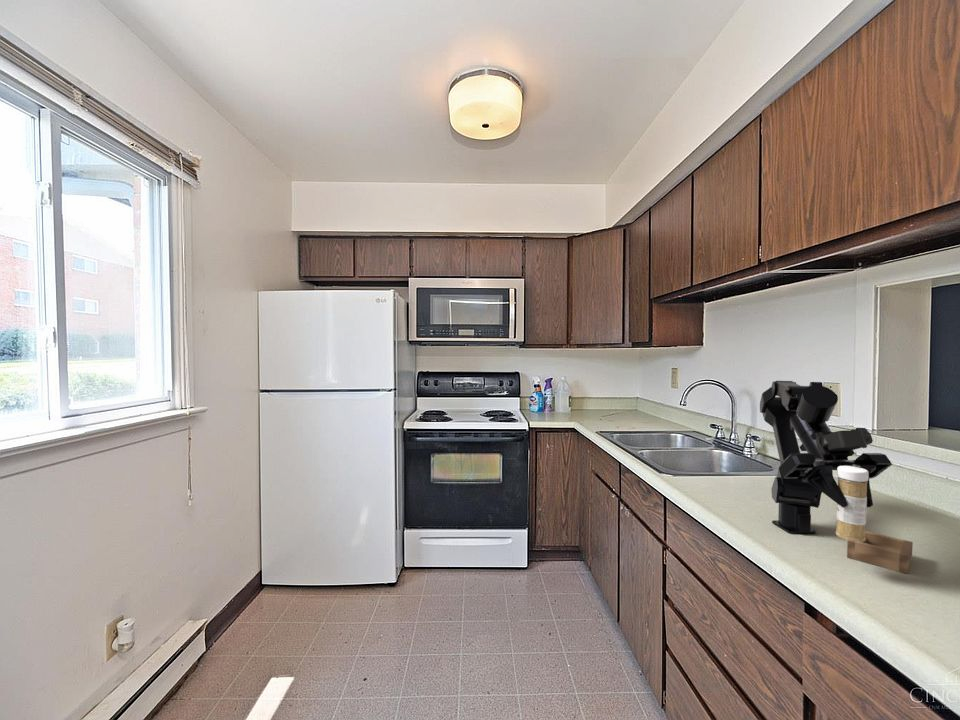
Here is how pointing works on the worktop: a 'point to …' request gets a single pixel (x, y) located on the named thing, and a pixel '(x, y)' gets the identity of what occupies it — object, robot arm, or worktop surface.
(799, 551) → the worktop surface
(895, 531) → the worktop surface
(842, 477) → the sprinkles bottle
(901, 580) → the worktop surface
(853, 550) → the walnut collar
